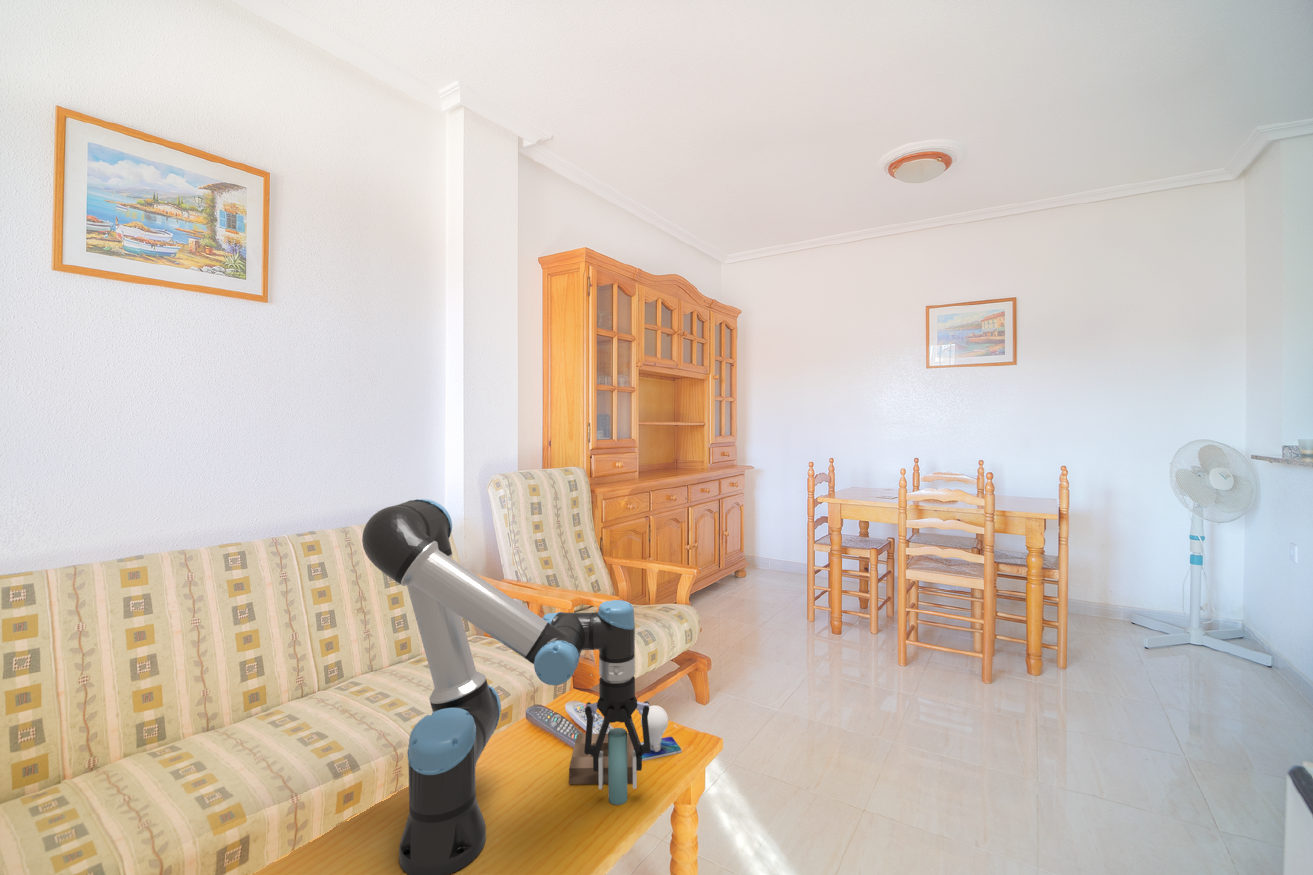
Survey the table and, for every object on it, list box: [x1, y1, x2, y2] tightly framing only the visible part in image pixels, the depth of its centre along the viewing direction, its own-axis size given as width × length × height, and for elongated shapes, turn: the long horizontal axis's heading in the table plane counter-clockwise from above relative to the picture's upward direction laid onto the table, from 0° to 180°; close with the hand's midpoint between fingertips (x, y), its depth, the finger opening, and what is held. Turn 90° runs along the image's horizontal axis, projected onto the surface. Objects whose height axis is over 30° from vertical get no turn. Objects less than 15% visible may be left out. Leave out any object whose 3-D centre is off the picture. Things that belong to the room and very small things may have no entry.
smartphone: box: [640, 736, 683, 762], centre depth 136 cm, size 7×1×15 cm
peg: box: [607, 727, 628, 806], centre depth 118 cm, size 4×4×14 cm
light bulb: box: [640, 704, 669, 753], centre depth 135 cm, size 7×7×11 cm
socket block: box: [568, 732, 634, 785], centre depth 130 cm, size 14×14×4 cm
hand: (617, 784), depth 118 cm, fingers open, 6 cm apart
